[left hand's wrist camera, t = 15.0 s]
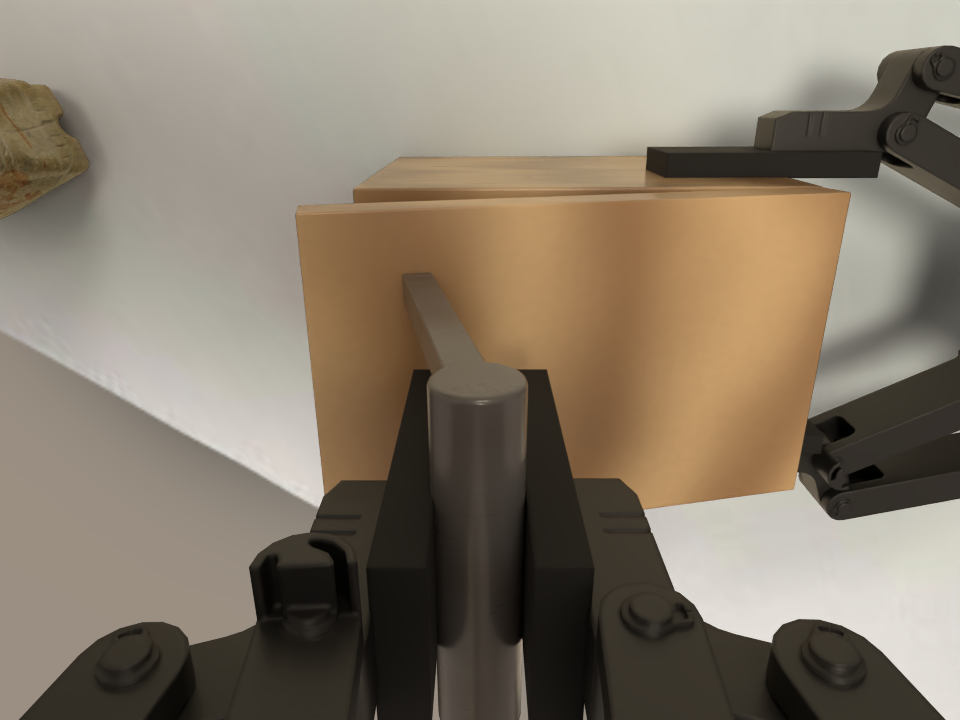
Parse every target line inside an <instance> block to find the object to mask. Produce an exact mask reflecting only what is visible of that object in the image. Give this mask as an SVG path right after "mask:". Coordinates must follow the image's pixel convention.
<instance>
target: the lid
mask: <svg viewBox="0 0 960 720" xmlns="http://www.w3.org/2000/svg"><path fill="white" fill-rule="evenodd" d="M850 196H851V193H850V192H845V191H840V190H834V189H828V188H823V187H807V188H779V189H751V190H722V191H694V192H666V193H637V194H609V195H580V196H552V197H524V198H495V199H467V200H439V201H410V202H382V203H354V204H325V205H299V206H298V207H297V211H296V215H295V217H296V226H297V236H298V245H299V255H300V264H301V274H302V284H303V293H304V303H305V312H306V322H307V331H308V341H309V351H310V360H311V370H312V379H313V389H314V398H315V408H316V417H317V427H318V437H319V446H320V456H321V465H322V475H323V484H324V494H325V495H326V494H327V493H328V492H329V491H330V490H331V489H332V488H334V487H335V486H336V485H337V484H338V483H339V482H340V481H341V480H387V478H388V474H389V470H390V466H391V462H392V457H393V453H394V449H395V445H396V441H397V437H398V433H399V428H400V424H401V420H402V416H403V412H404V408H405V403H406V399H407V395H408V391H409V387H410V383H411V378H412V374H413V370H414V369H430V371H431V374H432V375H431V376H430V378H429V380H428V382H427V411H428V438H429V465H430V492H431V497H432V500H433V502H434V534H435V567H436V599H437V632H438V649H437V680H438V707H439V717H440V720H519V718H520V713H521V675H522V625H523V585H524V546H525V504H526V461H527V418H528V382H527V380H526V378H525V376H524V375H523V374H522V373H521V372H520V371H518V370H516V369H547V372H548V376H549V380H550V384H551V388H552V393H553V397H554V401H555V405H556V409H557V413H558V418H559V422H560V426H561V430H562V434H563V438H564V442H565V447H566V451H567V455H568V459H569V463H570V467H571V472H572V476H573V478H620V479H621V480H622V481H623V482H624V483H625V484H626V485H627V486H628V487H630V488H631V489H632V490H633V491H634V492H635V493H636V494H637V495H638V498H639V500H640V503H641V505H642V508H643V509H651V508H658V507H665V506H673V505H680V504H688V503H695V502H703V501H710V500H718V499H725V498H733V497H740V496H748V495H755V494H763V493H770V492H778V491H785V490H793V489H794V486H795V481H796V476H797V470H798V465H799V460H800V455H801V450H802V445H803V439H804V434H805V429H806V424H807V419H808V413H809V408H810V403H811V398H812V393H813V388H814V382H815V377H816V372H817V367H818V362H819V356H820V351H821V346H822V341H823V336H824V331H825V325H826V320H827V315H828V310H829V305H830V299H831V294H832V289H833V284H834V279H835V274H836V268H837V263H838V258H839V253H840V248H841V242H842V237H843V232H844V227H845V222H846V217H847V211H848V206H849V201H850Z"/></svg>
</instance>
